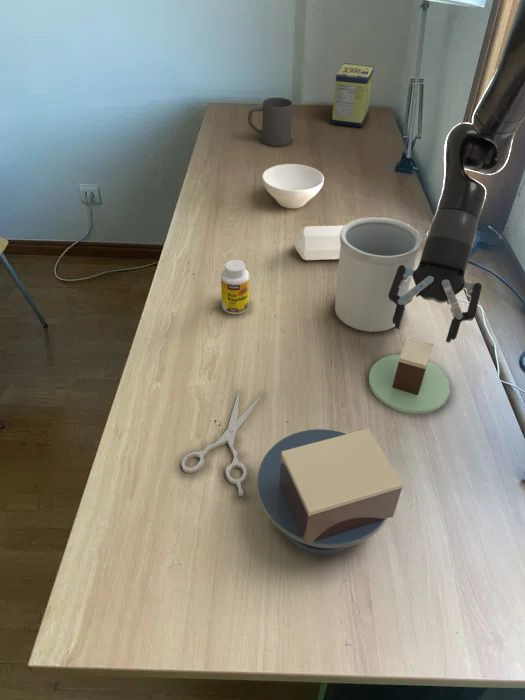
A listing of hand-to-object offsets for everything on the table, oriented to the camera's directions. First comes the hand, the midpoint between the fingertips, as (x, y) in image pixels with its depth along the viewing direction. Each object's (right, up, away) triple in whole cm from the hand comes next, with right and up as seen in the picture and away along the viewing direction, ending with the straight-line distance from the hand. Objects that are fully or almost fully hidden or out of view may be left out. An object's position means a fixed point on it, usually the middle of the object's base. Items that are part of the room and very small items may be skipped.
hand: (422, 335), depth 94 cm
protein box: (+4, +78, +102) cm, 129 cm away
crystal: (-8, +20, +38) cm, 43 cm away
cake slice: (-1, -8, +5) cm, 9 cm away
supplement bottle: (-32, +6, +21) cm, 39 cm away
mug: (-24, +64, +86) cm, 110 cm away
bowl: (-19, +37, +56) cm, 70 cm away
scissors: (-32, -16, -4) cm, 36 cm away
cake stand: (-18, -26, -14) cm, 35 cm away
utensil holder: (-5, +5, +21) cm, 22 cm away
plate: (-1, -9, +6) cm, 10 cm away
